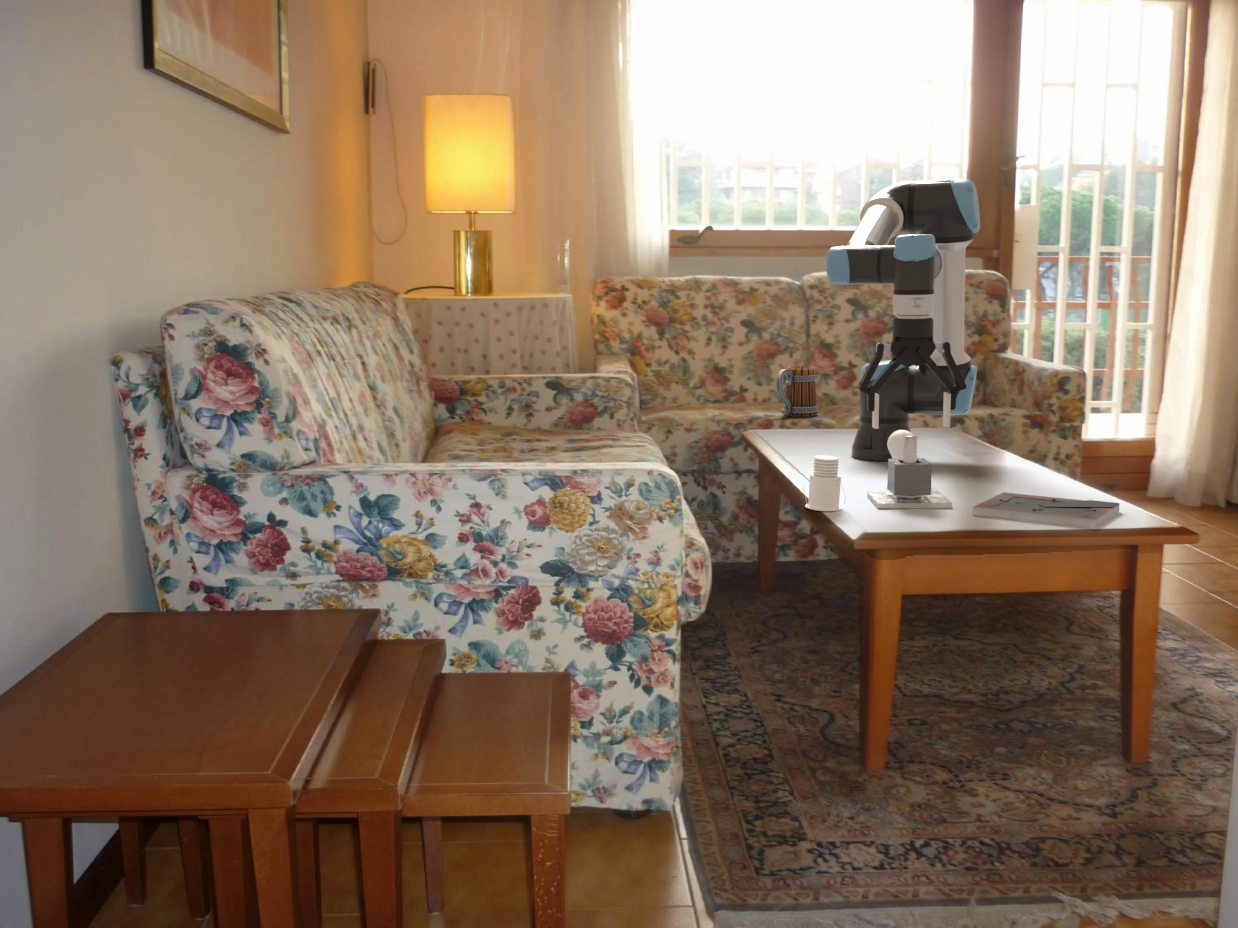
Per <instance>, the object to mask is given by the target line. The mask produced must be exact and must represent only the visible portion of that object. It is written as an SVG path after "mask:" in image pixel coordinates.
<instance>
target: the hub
mask: <svg viewBox="0 0 1238 928" xmlns="http://www.w3.org/2000/svg"><path fill="white" fill-rule="evenodd" d="M932 465H933V464H932V463H931V462H930V461H928V460H927V459H925V458H917V463H903V459H888V461H887V486H886V487H887V490H888V491H890V492H891V493H892V494H893V495H931V491H932V469H933V468H932V467H933V466H932Z"/></svg>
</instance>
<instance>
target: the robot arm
mask: <svg viewBox="0 0 1238 928" xmlns="http://www.w3.org/2000/svg"><path fill="white" fill-rule="evenodd" d="M977 191H978V190H977V187H976V184H975V183H974V182H973V181H972V180H971V179H958V178H956V179H955V178H950V179H949V178H946V179H945V178H944V179H936V180H935V179H934V180H933V179H930V180H917V181H916V180H915V181H913V180H910V181H909V180H908V181H907V180H906V181H901V182H897V183H894V184H892V185H889V186H887V187H885V188H883V189H881V190H880V191H878V192H877V193H875V194H874V195H872V196H871V197H870V198H868V200H867V201H866V202H865V203H864V205H863V207H862V208H861V211H860V215H859V223H858V225H857V226H856V228H855V231H854V232H853V234H852V236H851V237H850V239H849V240H848V242H847V244H846V245H839V246H832V247H830V248H829V250H828V251H827V254H826V255H827V256H826V275H827V280H828V281H829V282H830V283H831V284H837V285H845V286H848V285H875V284H876V285H877V284H881V285H882V284H885V285H886V284H887V285H888V284H890V285H891V284H893V304H892V307H893V309H892V314H893V315H894V316H895V318H894V319H892V341H891V343H883V342H882V343H881V342H876V343H875V346H874V353H873V355H872V358H871V360H870V361H869V363H866V364H864V365H863V366H862V368H861V370H860V381H859V383H858V384H857V389H858V390H859V425H858V427H857V432H856V434H855V437H854V440H853V442H852V445H851V457H853V458H856V459H859V460H866V461H878V462H879V461H880V462H882V461H883V462H888V459H893V458H892V456H891V454H890V452H889V450H888V446H887V442H888V439H889V437H890V435H891V434H892V433H894V432H895V431H898V430H906V431H909V432H911V433H912V431H911V428H910V427H911V426H910V415H932V416H933V415H934V416H935V415H936V416H937V415H938V416H940V415H941V416H942V426H943V427H944V428H951V416H962V415H966V414H968V413H969V412H970V410H971V406H972V402H973V398H974V393H975V388H976V387H975V386H976V381H977V375H978V372H977V371H978V366H976V365H973V364H972V365H971V359H972V358H971V356H970V355H968V354H967V352H965V315H966V314H965V312H966V310H965V309H966V307H965V303H966V302H965V299H966V298H965V297H966V249H967V247H968V246H969V245H970V244H971V243H972V242H973V240H974V234H976V233H979V231H980V230H981V214H980V205H979V197H978V192H977ZM896 235H897V236H896ZM895 236H896V237H895ZM893 237H895V239H894V245H893V244H892V245H889V242H890V241H891V238H893ZM888 351H890V352H891V354H892V355H893V358H892V359H887V360H882V359H883V356H885V355H886V354H887V353H888ZM881 360H882V361H881Z"/></svg>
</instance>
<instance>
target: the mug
mask: <svg viewBox="0 0 1238 928" xmlns="http://www.w3.org/2000/svg"><path fill="white" fill-rule="evenodd" d="M778 371H779V372H778V373H777V375H776V379H775V380H776V381H775V385H776V391H777V394H778V395H777V396H778V397H779V399H780V400H781V401H782V403H783V404H784V405H783V408H781V409H780V412H781V414H782V415H784V416H785V417H790V418H810V417H811V418H812V417H815V416H817V415H818V411H819V408H818V402H817V401H818V400H817V385H816V381H817V375H816V371H815V367H814V366H813V365H812V366H811V365H791V366H788V367H787V369H786V368H782V369H780V370H778ZM785 374H786V375H785ZM784 376H785V393H784V389H783V377H784Z"/></svg>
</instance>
